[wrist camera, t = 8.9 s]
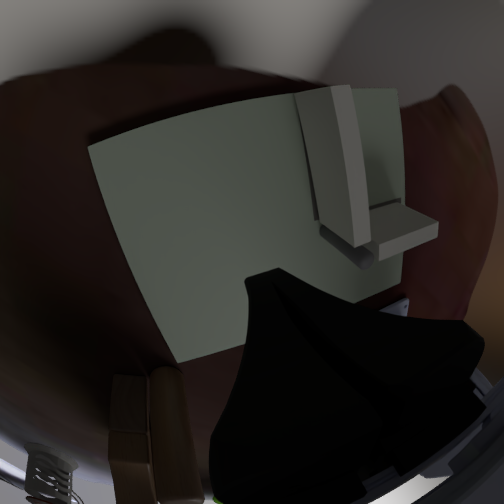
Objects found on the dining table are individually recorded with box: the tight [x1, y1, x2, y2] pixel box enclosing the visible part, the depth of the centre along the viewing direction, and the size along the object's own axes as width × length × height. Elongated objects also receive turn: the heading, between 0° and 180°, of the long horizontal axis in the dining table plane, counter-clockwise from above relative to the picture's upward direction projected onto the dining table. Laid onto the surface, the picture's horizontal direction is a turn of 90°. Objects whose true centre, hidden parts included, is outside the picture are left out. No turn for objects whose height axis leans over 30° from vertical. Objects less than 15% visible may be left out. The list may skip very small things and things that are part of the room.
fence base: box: [319, 202, 439, 270], centre depth 19 cm, size 1×8×5 cm, turn 102°
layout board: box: [88, 88, 405, 363], centre depth 20 cm, size 18×22×1 cm
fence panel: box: [294, 84, 371, 248], centre depth 16 cm, size 9×1×4 cm, turn 15°
